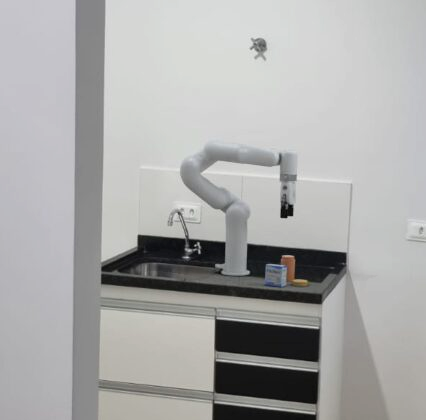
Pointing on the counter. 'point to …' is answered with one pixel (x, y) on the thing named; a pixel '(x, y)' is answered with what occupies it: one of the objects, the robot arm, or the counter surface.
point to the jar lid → (299, 282)
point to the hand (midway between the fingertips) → (286, 217)
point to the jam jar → (289, 266)
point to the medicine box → (275, 275)
